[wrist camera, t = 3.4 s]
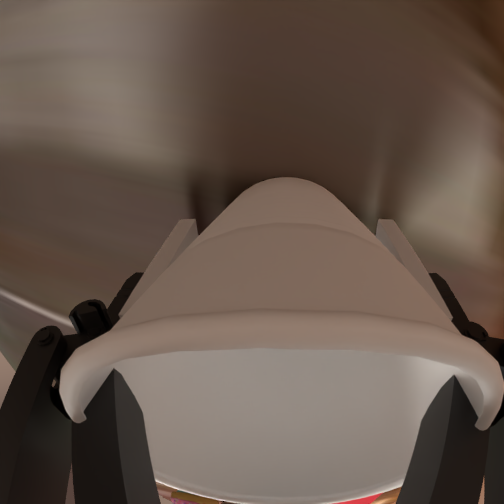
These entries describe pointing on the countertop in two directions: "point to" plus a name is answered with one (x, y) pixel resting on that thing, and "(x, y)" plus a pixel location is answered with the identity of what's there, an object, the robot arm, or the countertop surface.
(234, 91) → the countertop surface
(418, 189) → the countertop surface
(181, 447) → the cup
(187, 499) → the cupcake
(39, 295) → the countertop surface
